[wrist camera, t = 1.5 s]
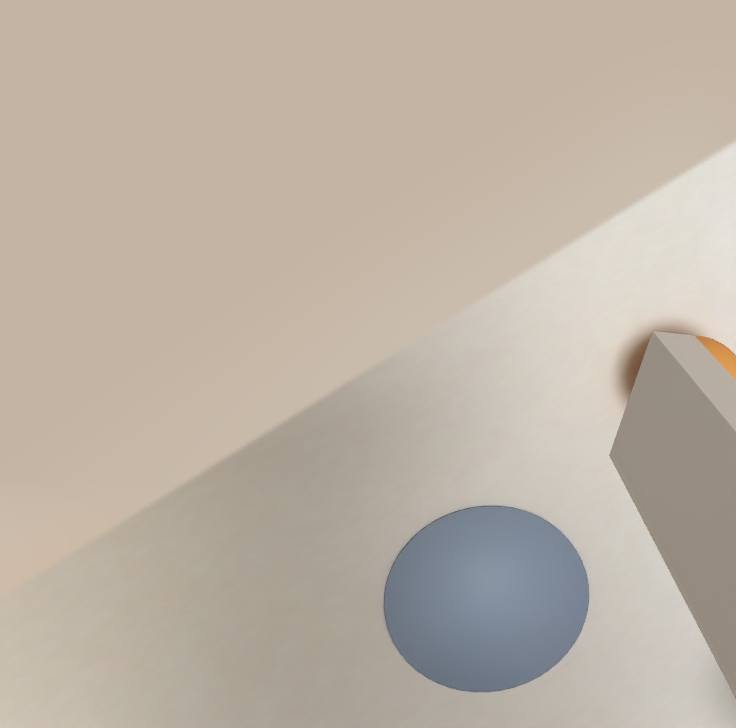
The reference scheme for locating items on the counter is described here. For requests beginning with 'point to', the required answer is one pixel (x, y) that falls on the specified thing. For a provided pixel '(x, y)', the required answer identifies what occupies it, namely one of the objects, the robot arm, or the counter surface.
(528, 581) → the slate mark
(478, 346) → the counter surface
